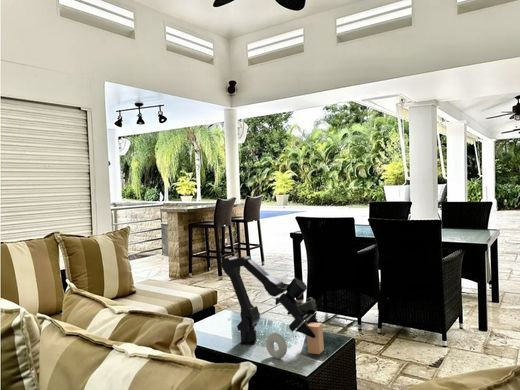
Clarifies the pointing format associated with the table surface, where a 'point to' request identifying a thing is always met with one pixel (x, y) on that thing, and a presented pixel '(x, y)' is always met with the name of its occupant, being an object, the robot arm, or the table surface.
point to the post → (315, 339)
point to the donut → (271, 348)
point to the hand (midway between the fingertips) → (318, 334)
